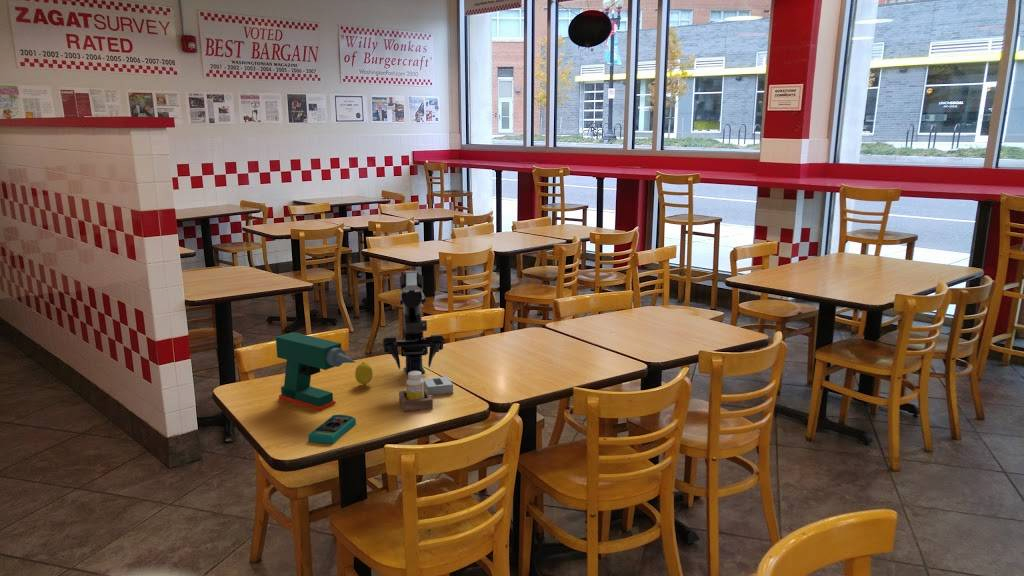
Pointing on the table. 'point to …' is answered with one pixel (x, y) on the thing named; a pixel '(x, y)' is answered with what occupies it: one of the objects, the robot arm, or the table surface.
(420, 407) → the walnut socket block
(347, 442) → the table surface
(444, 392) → the grey slot block
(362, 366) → the lemon
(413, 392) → the supplement bottle
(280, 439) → the table surface
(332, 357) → the power tool
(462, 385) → the table surface
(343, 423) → the digital multimeter
